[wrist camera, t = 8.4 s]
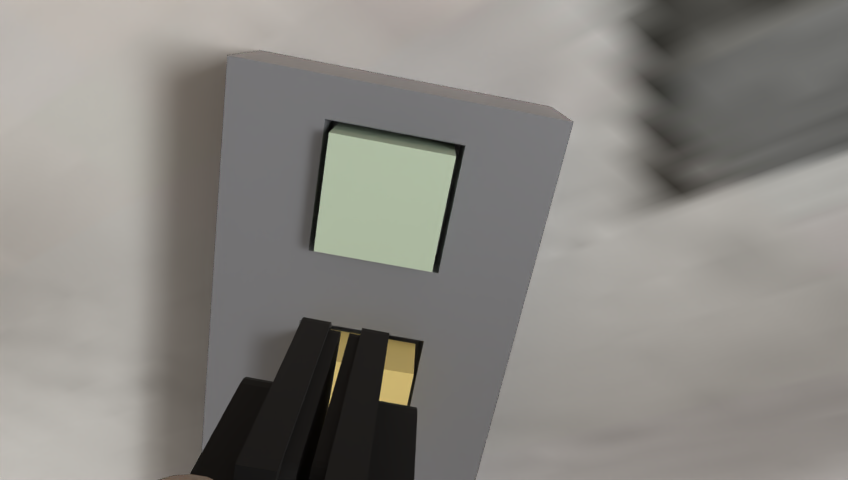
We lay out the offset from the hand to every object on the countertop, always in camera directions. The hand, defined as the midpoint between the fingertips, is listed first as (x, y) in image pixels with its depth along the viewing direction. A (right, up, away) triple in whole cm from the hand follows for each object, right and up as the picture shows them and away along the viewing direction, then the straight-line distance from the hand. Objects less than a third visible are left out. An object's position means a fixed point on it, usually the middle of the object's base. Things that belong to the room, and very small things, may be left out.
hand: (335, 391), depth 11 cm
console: (-1, -2, +16) cm, 17 cm away
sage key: (0, +5, +11) cm, 12 cm away
